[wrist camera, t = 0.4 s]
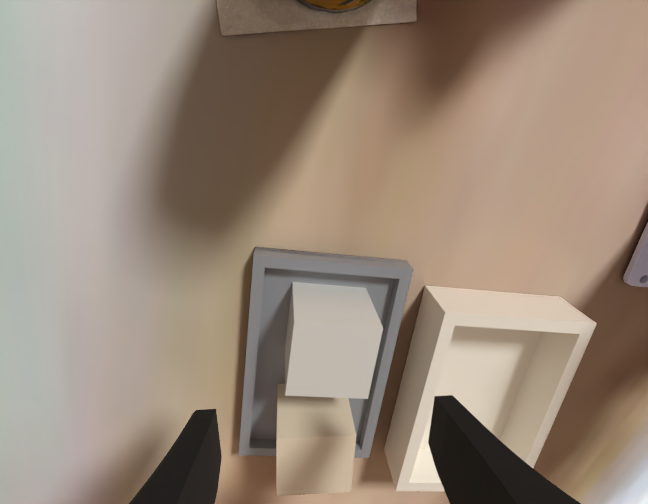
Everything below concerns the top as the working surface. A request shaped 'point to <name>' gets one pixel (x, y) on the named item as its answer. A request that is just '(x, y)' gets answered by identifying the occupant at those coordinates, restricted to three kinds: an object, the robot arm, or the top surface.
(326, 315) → the light gray cube
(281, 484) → the beige cube
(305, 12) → the condiment
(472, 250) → the top surface
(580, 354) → the cream dish
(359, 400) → the slate tray
